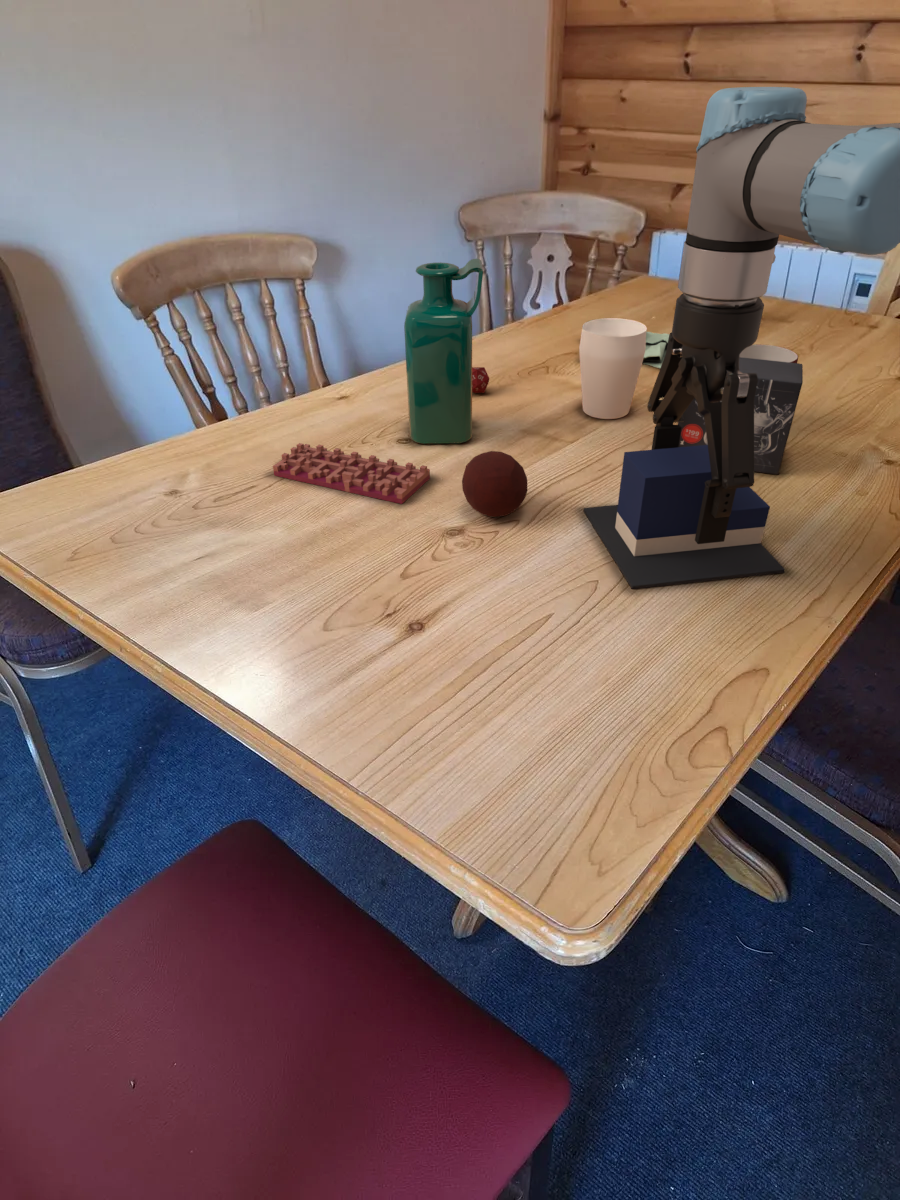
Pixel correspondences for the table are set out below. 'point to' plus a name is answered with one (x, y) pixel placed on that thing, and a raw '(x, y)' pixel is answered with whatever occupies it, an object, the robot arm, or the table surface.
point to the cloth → (655, 349)
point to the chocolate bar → (352, 473)
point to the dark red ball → (494, 484)
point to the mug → (769, 353)
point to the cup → (610, 365)
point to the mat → (679, 558)
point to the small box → (759, 412)
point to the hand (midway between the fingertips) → (682, 509)
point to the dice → (479, 380)
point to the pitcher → (441, 356)
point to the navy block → (678, 503)
